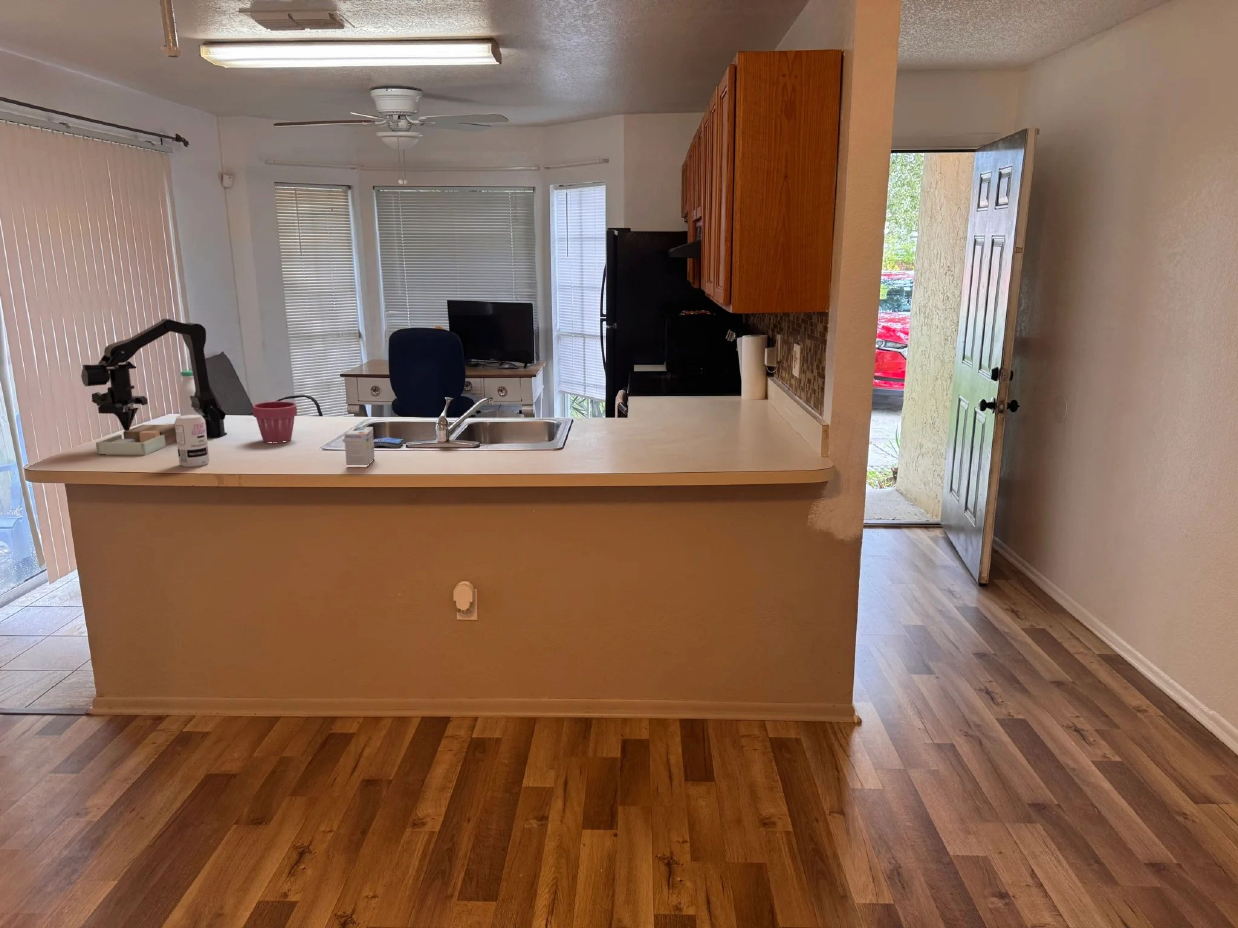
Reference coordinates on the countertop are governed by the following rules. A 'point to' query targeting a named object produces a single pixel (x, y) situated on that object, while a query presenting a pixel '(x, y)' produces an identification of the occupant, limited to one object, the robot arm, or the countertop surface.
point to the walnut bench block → (163, 430)
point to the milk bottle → (186, 393)
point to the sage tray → (129, 446)
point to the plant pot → (275, 420)
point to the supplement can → (191, 440)
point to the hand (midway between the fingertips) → (126, 430)
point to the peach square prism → (148, 435)
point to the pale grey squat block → (125, 440)
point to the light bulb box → (359, 446)
